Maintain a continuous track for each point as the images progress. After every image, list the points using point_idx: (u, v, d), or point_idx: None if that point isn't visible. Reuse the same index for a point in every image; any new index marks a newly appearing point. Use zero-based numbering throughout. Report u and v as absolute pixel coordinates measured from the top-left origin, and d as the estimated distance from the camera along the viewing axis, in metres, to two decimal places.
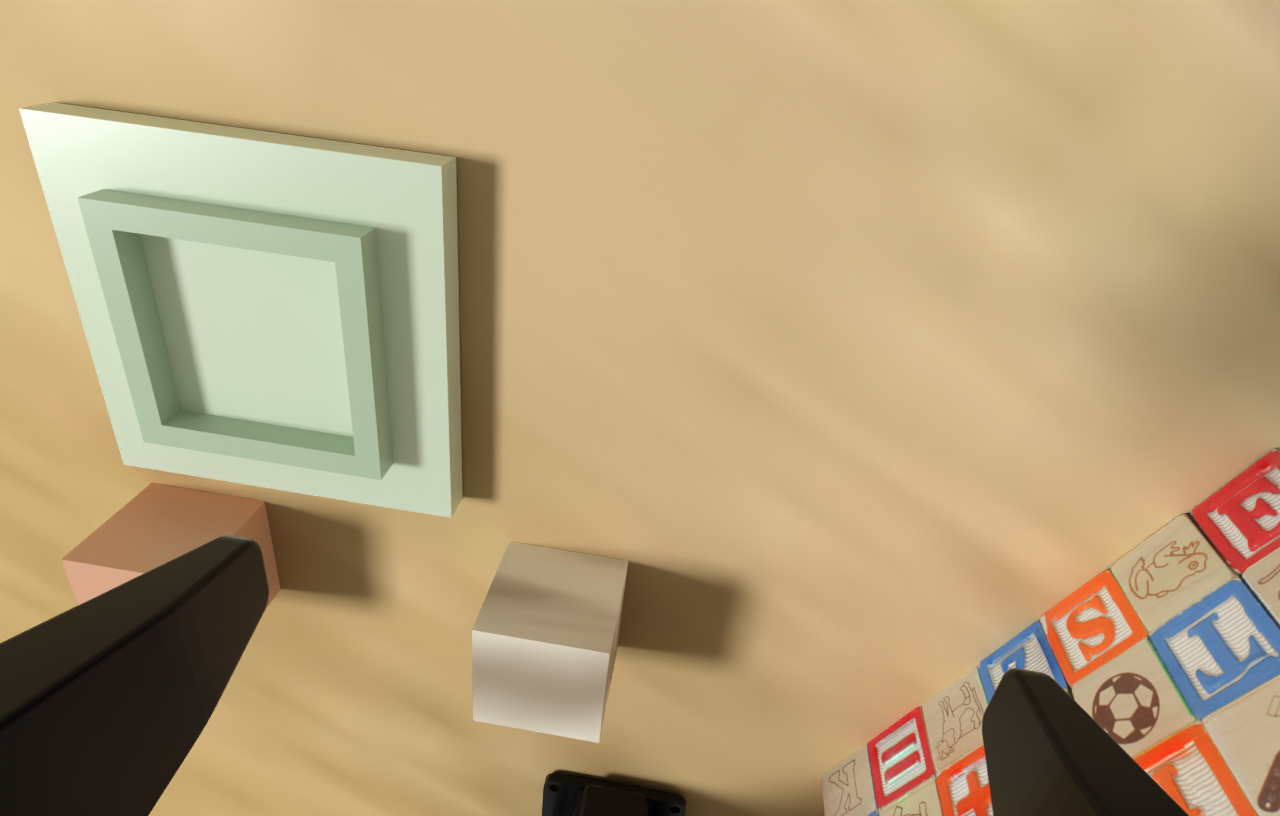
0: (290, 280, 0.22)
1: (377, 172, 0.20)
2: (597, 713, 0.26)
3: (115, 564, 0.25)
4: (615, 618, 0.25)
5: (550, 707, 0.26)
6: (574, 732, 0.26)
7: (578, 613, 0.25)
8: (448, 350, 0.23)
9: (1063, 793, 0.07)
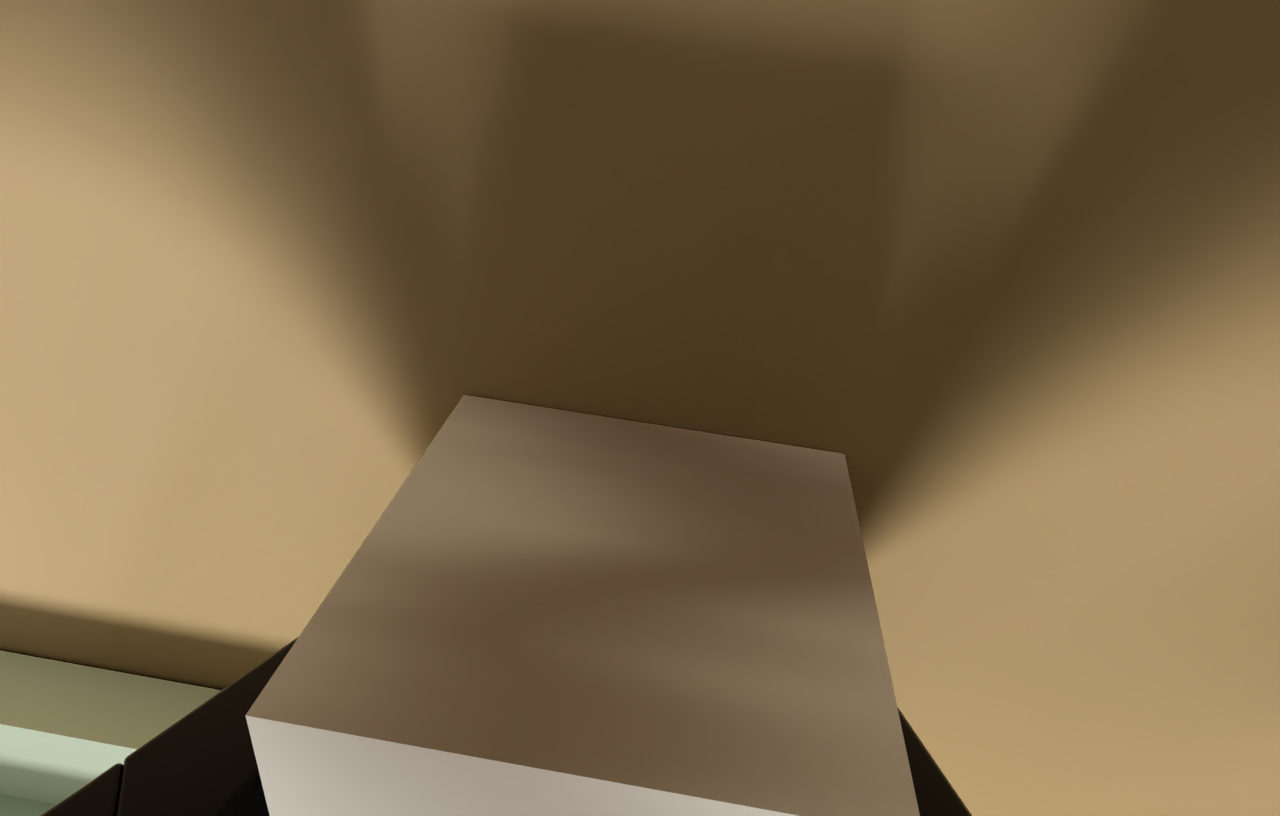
0: None
1: None
2: (681, 809, 0.05)
3: None
4: (351, 566, 0.06)
5: None
6: None
7: None
8: None
9: None
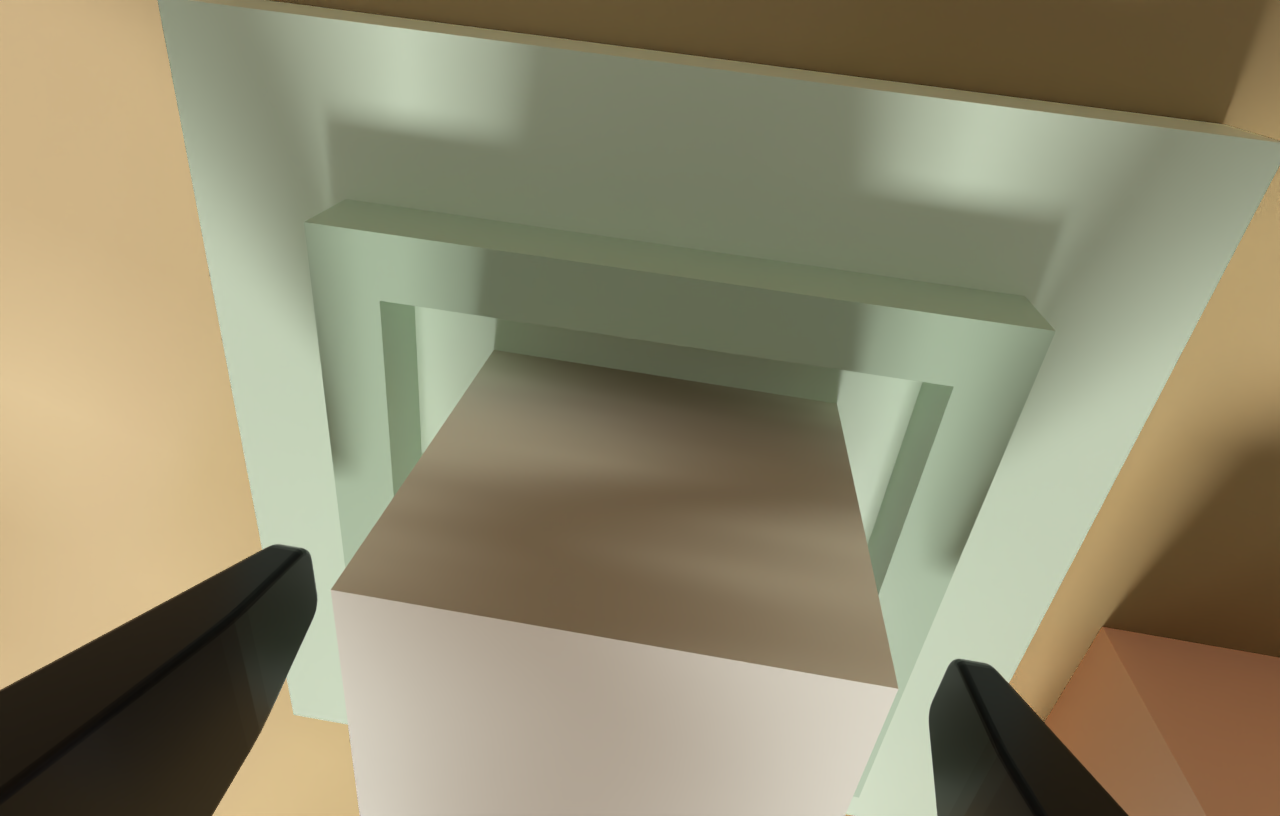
0: None
1: (220, 168, 0.09)
2: (695, 668, 0.06)
3: None
4: (406, 483, 0.07)
5: (683, 795, 0.07)
6: (828, 754, 0.06)
7: None
8: (663, 60, 0.08)
9: (996, 781, 0.07)
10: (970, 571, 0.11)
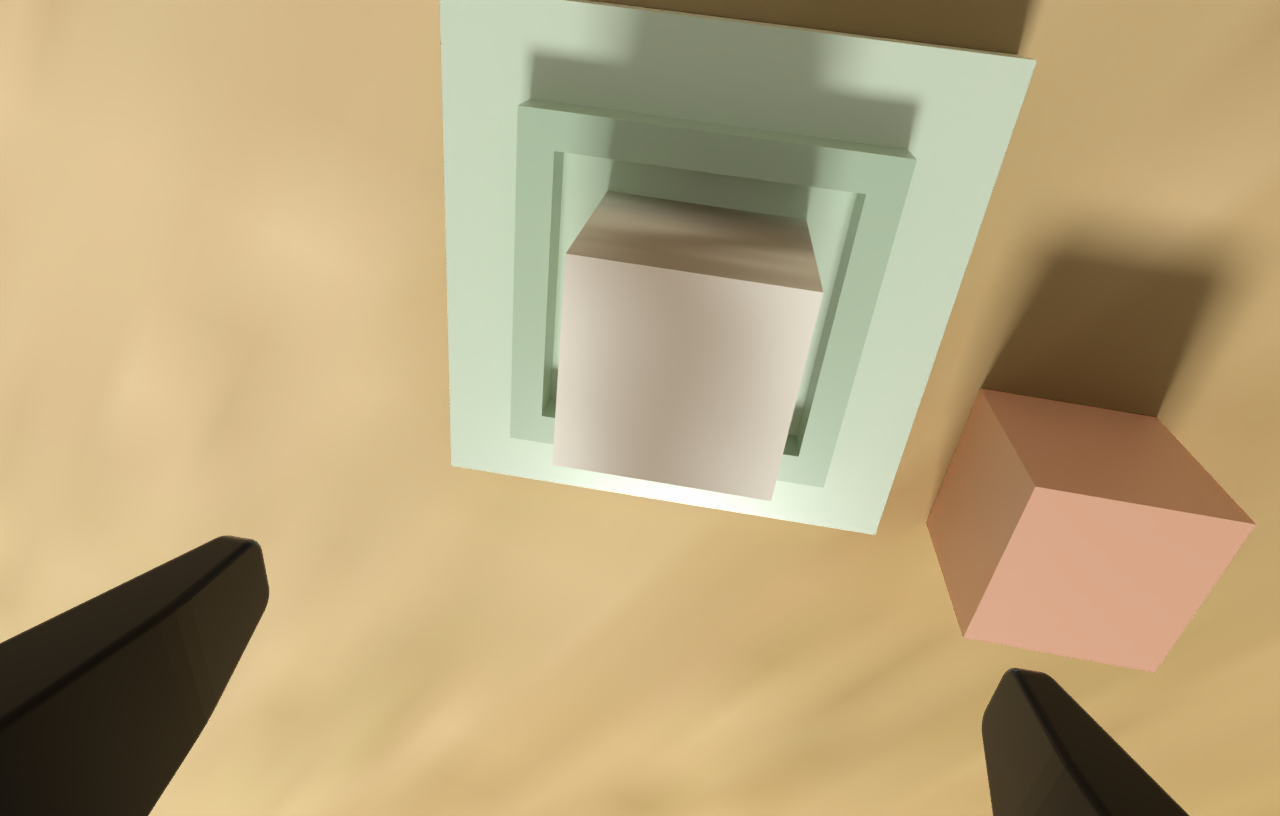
0: None
1: (459, 81, 0.16)
2: (732, 287, 0.13)
3: (987, 578, 0.17)
4: None
5: (724, 371, 0.14)
6: (793, 336, 0.13)
7: None
8: (710, 18, 0.15)
9: (1063, 793, 0.07)
10: (888, 331, 0.18)
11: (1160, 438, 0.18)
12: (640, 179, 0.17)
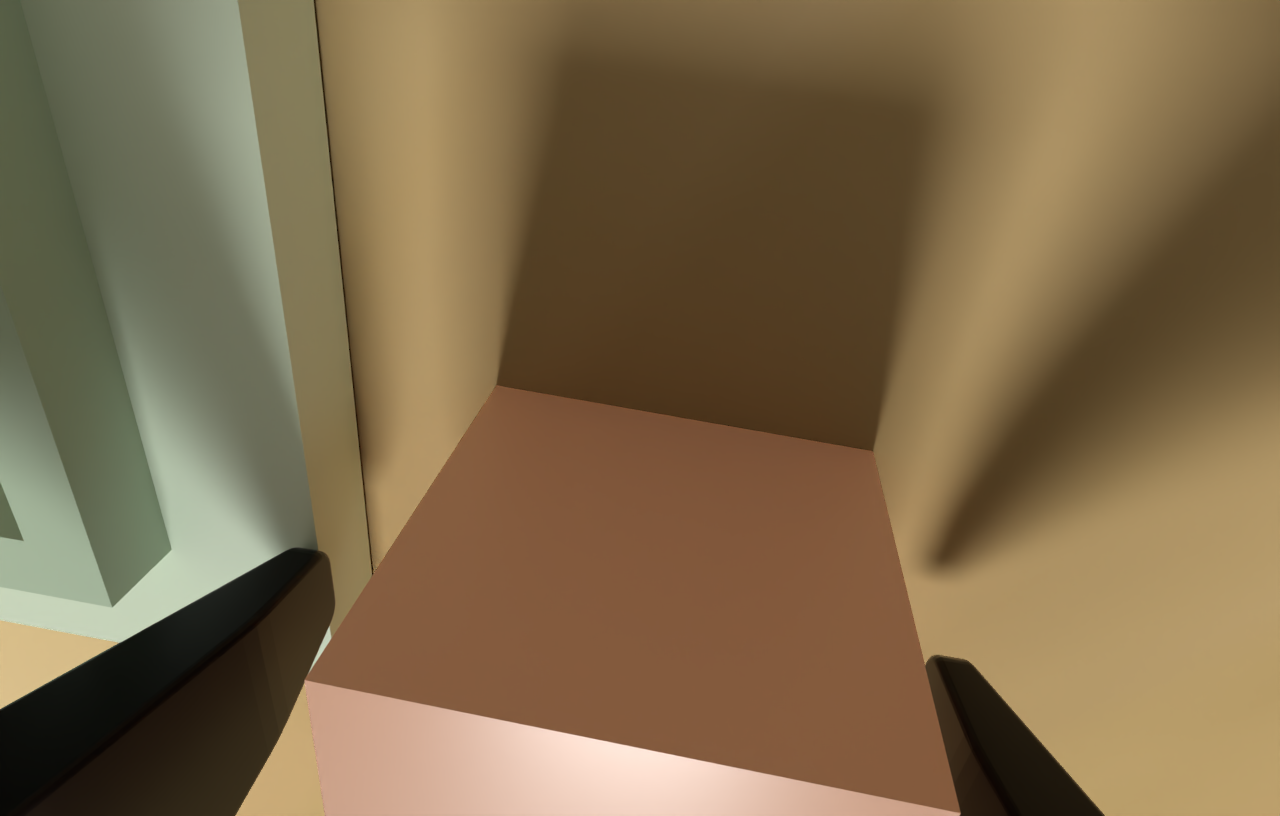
0: None
1: None
2: None
3: None
4: None
5: None
6: None
7: None
8: None
9: (970, 777, 0.07)
10: (152, 244, 0.07)
11: (843, 505, 0.08)
12: None
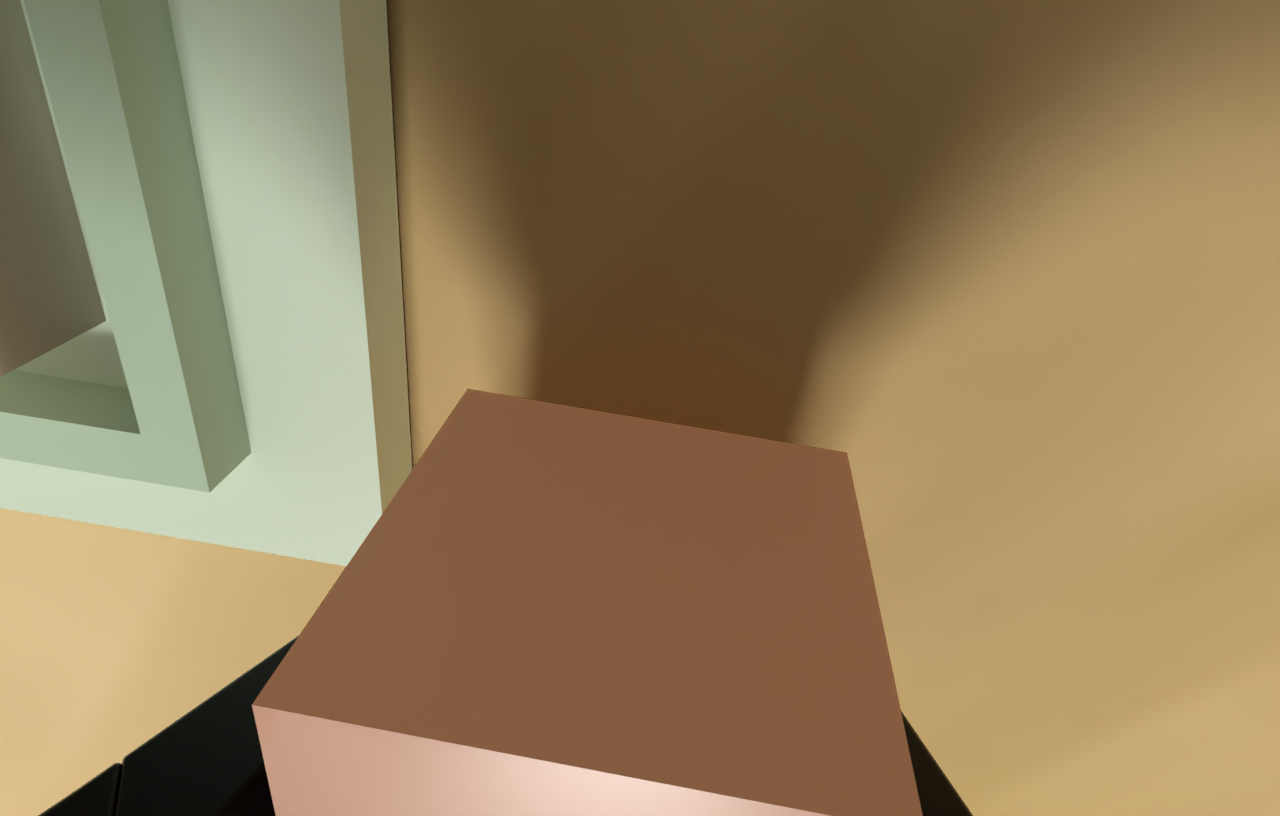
0: None
1: None
2: None
3: None
4: None
5: None
6: None
7: None
8: None
9: None
10: (255, 186, 0.09)
11: (817, 512, 0.08)
12: None
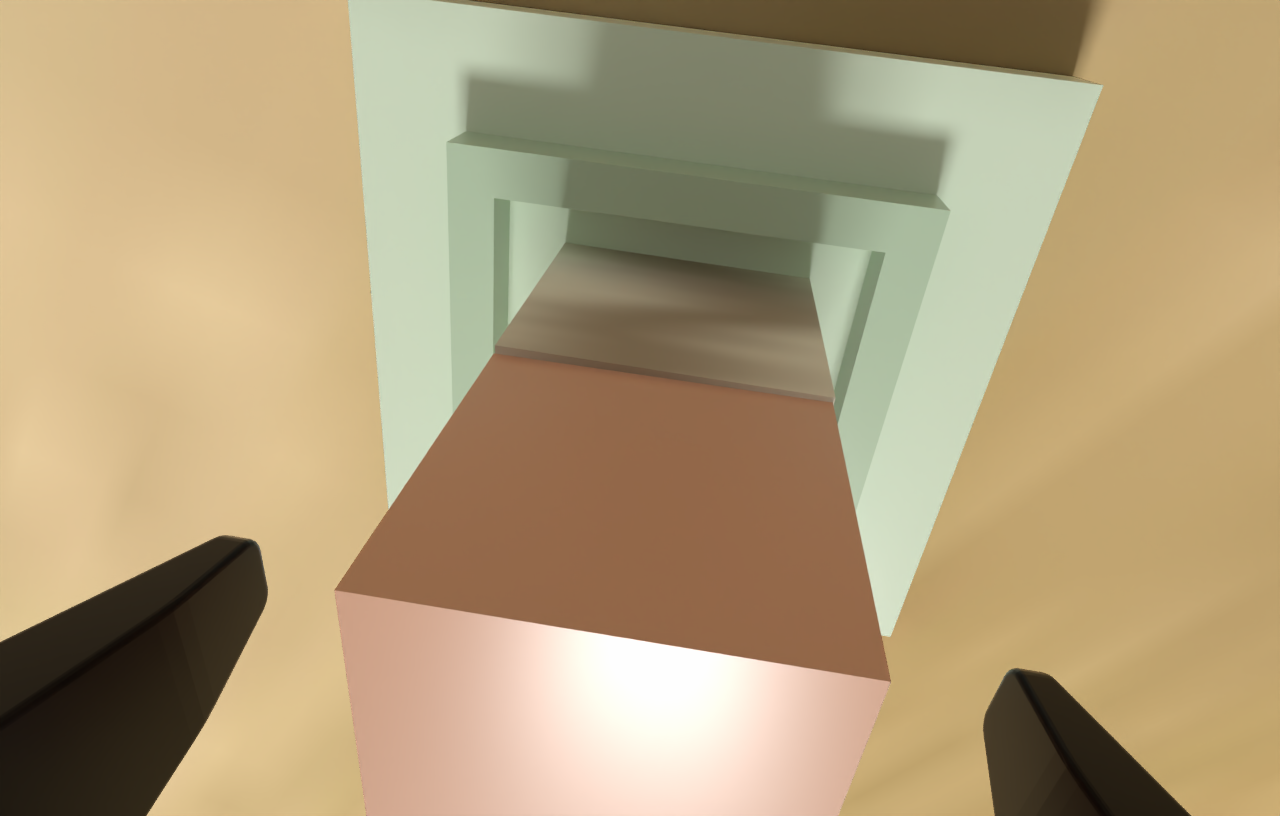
0: None
1: (378, 110, 0.13)
2: None
3: (371, 776, 0.08)
4: (524, 305, 0.11)
5: None
6: None
7: None
8: (689, 31, 0.12)
9: (1065, 793, 0.07)
10: (909, 409, 0.15)
11: (804, 450, 0.09)
12: (605, 229, 0.14)
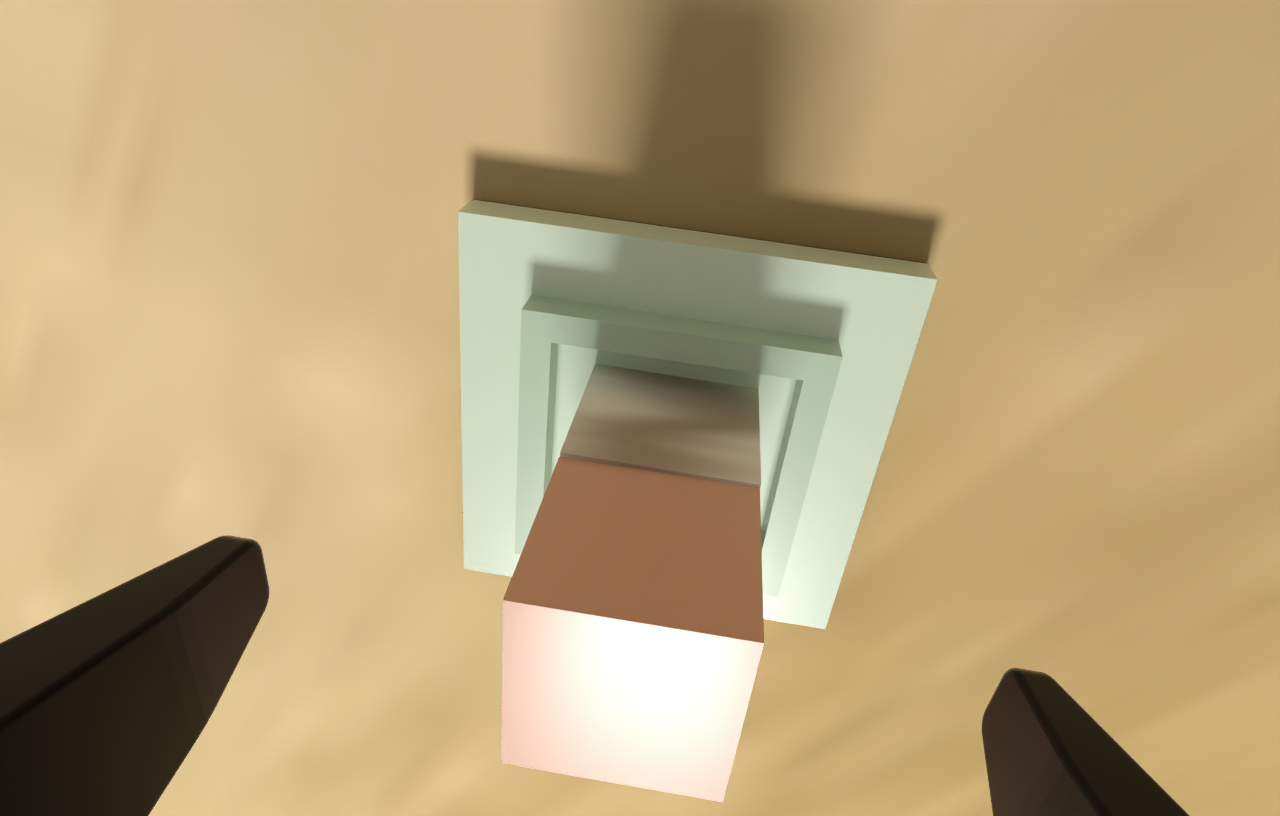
0: None
1: (473, 281, 0.20)
2: None
3: (504, 697, 0.14)
4: (573, 419, 0.18)
5: None
6: None
7: None
8: (677, 240, 0.19)
9: (1063, 793, 0.07)
10: (829, 473, 0.21)
11: (739, 520, 0.15)
12: (622, 355, 0.20)
